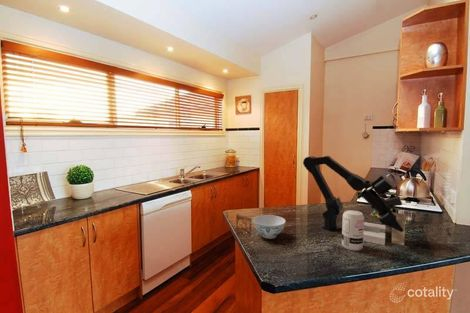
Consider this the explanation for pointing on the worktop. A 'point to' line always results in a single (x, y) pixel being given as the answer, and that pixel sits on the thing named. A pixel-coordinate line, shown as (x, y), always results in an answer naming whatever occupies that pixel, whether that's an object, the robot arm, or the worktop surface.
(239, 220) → the worktop surface
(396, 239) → the block
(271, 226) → the chinaware
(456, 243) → the worktop surface
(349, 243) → the supplement can
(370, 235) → the white flat frame
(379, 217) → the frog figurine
